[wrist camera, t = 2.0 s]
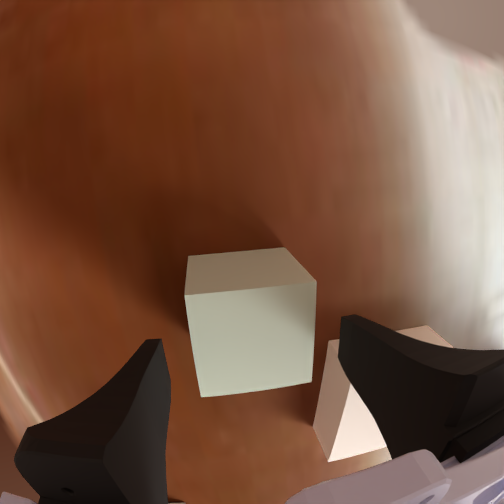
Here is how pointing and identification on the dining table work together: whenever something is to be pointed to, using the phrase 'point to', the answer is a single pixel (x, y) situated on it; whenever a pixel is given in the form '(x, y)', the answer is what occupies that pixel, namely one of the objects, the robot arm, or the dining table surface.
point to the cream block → (351, 406)
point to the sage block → (250, 320)
